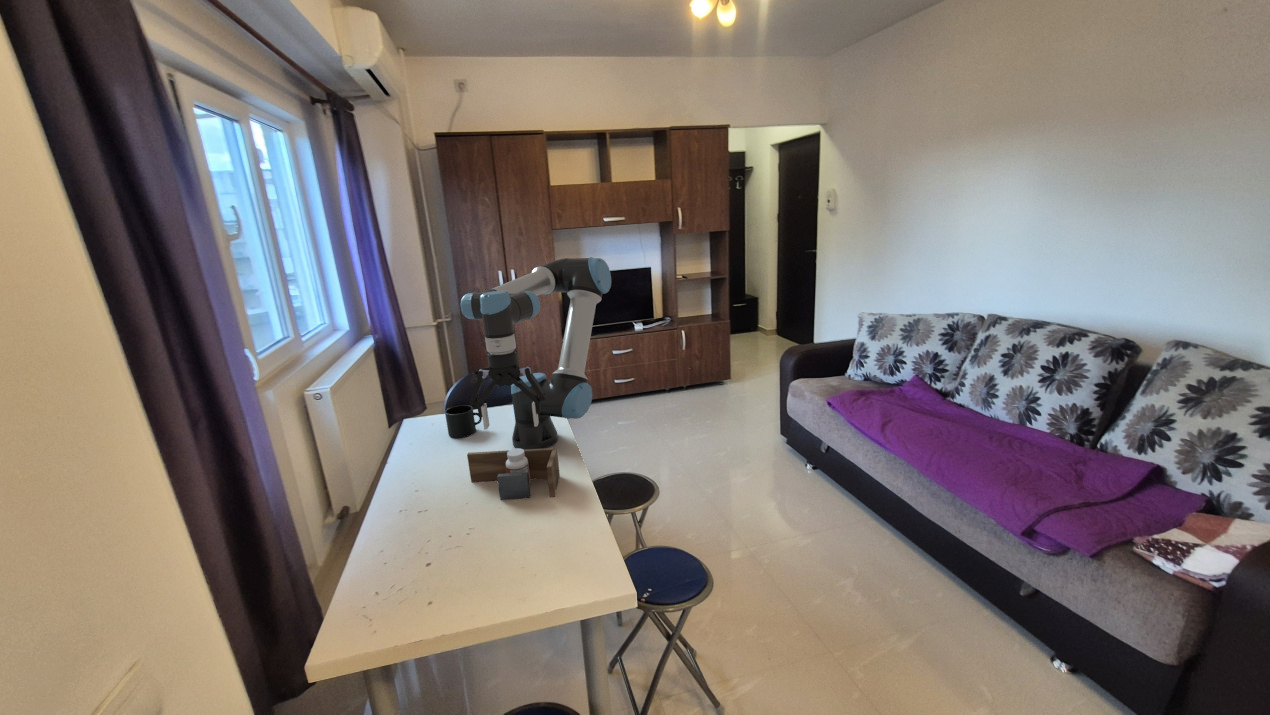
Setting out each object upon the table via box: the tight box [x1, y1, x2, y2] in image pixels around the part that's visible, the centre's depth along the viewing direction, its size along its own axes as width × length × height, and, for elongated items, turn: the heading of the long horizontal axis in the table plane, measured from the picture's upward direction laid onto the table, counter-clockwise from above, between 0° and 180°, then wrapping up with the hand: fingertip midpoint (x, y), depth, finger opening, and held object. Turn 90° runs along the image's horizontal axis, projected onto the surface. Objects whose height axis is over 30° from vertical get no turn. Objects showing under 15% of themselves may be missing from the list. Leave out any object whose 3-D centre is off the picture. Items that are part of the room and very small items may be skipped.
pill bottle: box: [506, 448, 532, 487], centre depth 145 cm, size 6×6×11 cm
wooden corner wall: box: [466, 447, 561, 498], centre depth 146 cm, size 12×26×9 cm, turn 90°
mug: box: [444, 404, 483, 439], centre depth 186 cm, size 9×12×9 cm
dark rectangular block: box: [497, 472, 532, 501], centre depth 141 cm, size 2×8×7 cm, turn 90°
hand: (511, 426), depth 142 cm, fingers open, 13 cm apart
